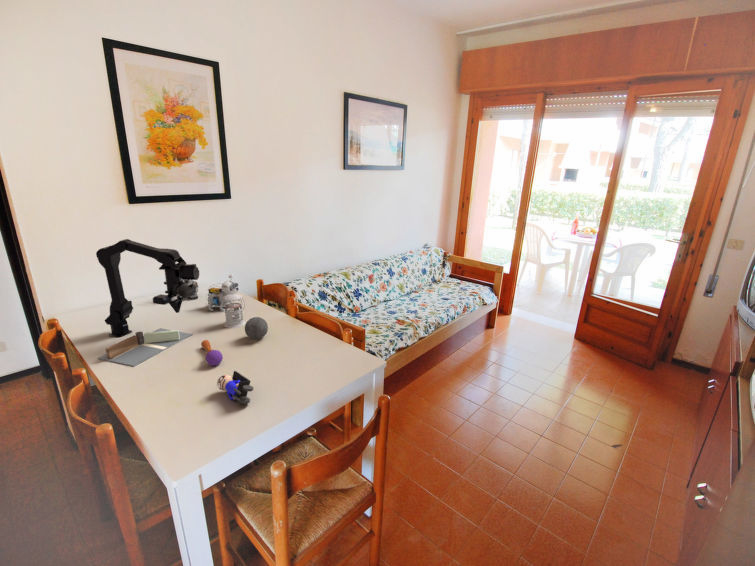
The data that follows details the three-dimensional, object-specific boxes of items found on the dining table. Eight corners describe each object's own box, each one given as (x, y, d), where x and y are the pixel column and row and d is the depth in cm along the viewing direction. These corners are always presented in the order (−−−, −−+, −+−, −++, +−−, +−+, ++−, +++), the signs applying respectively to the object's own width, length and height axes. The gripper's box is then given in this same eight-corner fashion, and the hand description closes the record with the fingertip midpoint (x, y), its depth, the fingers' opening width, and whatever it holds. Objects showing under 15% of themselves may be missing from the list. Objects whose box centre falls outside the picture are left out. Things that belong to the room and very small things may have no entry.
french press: (219, 325, 178) (214, 276, 171) (236, 317, 188) (232, 270, 181) (235, 329, 174) (231, 278, 167) (252, 320, 185) (249, 272, 177)
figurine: (174, 298, 211) (170, 273, 206) (195, 294, 219) (192, 269, 214) (180, 302, 205) (176, 276, 200) (201, 298, 213) (198, 273, 208)
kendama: (213, 336, 158) (225, 352, 142) (212, 350, 159) (223, 367, 143) (198, 337, 154) (208, 353, 138) (197, 351, 155) (206, 368, 139)
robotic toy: (235, 312, 194) (232, 285, 189) (202, 311, 194) (199, 284, 189) (243, 304, 206) (241, 278, 202) (212, 303, 206) (210, 277, 202)
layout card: (97, 358, 144) (97, 357, 144) (160, 328, 172) (160, 328, 172) (133, 366, 140) (133, 365, 140) (192, 334, 167) (192, 333, 167)
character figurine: (239, 412, 117) (216, 393, 126) (259, 400, 122) (236, 383, 132) (235, 391, 114) (212, 373, 124) (256, 380, 119) (232, 364, 129)
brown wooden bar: (106, 358, 144) (104, 346, 142) (141, 341, 158) (139, 331, 157) (111, 359, 143) (109, 348, 142) (145, 342, 158) (144, 332, 156)
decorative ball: (240, 339, 164) (238, 319, 161) (257, 331, 173) (255, 312, 170) (257, 345, 160) (255, 324, 157) (273, 336, 168) (272, 316, 166)
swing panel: (146, 341, 158) (144, 332, 157) (179, 338, 162) (178, 329, 161) (145, 343, 157) (143, 334, 155) (179, 339, 161) (178, 331, 159)
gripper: (171, 287, 149) (176, 323, 153) (204, 275, 166) (207, 308, 171) (149, 284, 152) (154, 319, 156) (183, 272, 169) (187, 304, 173)
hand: (177, 312), depth 164 cm, fingers closed
